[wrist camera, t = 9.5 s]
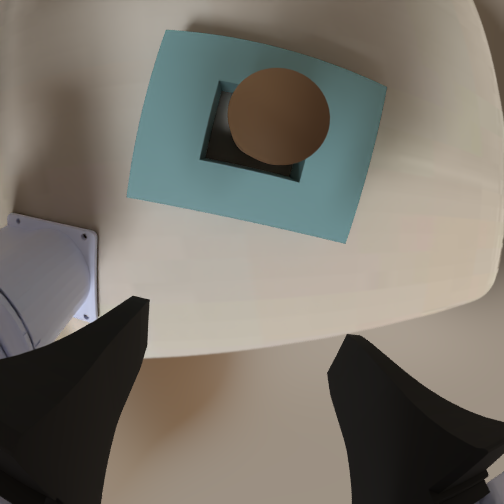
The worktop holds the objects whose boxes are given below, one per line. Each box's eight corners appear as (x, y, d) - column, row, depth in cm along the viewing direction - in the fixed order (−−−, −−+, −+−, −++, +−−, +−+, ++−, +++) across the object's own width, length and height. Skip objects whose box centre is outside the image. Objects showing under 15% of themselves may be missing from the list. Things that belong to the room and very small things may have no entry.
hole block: (142, 189, 18) (126, 197, 15) (176, 45, 14) (166, 29, 12) (330, 229, 19) (345, 243, 17) (366, 93, 16) (387, 87, 13)
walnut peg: (227, 150, 17) (216, 152, 8) (238, 105, 16) (241, 57, 7) (273, 160, 18) (316, 176, 8) (285, 116, 17) (339, 85, 7)
